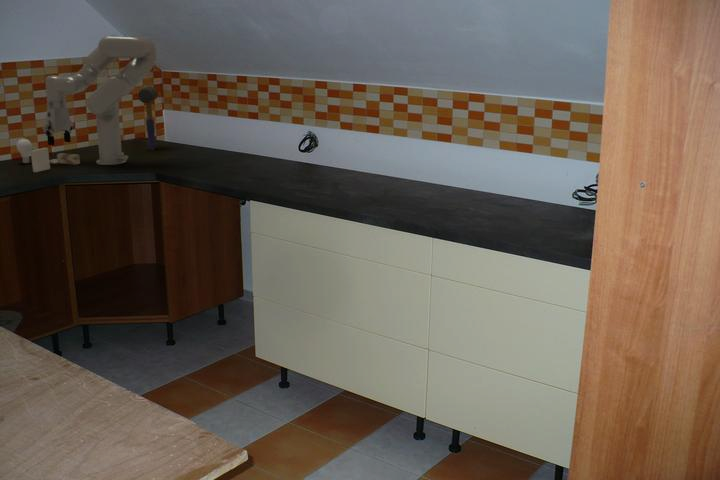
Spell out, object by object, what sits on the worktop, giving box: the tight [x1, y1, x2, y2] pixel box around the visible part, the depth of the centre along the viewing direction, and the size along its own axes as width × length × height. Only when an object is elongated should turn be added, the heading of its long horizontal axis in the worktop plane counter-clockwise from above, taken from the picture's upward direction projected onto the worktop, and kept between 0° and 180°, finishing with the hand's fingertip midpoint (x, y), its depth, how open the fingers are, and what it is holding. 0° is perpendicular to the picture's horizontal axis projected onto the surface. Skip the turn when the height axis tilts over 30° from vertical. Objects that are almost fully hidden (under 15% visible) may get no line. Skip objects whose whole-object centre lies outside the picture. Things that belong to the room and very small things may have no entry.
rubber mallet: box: [137, 86, 159, 151], centre depth 389 cm, size 12×8×30 cm, turn 1°
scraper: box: [49, 152, 81, 165], centre depth 361 cm, size 16×6×4 cm, turn 66°
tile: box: [30, 147, 51, 173], centre depth 344 cm, size 2×8×9 cm, turn 156°
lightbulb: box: [15, 138, 33, 165], centre depth 359 cm, size 6×6×11 cm
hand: (59, 143), depth 359 cm, fingers open, 9 cm apart
